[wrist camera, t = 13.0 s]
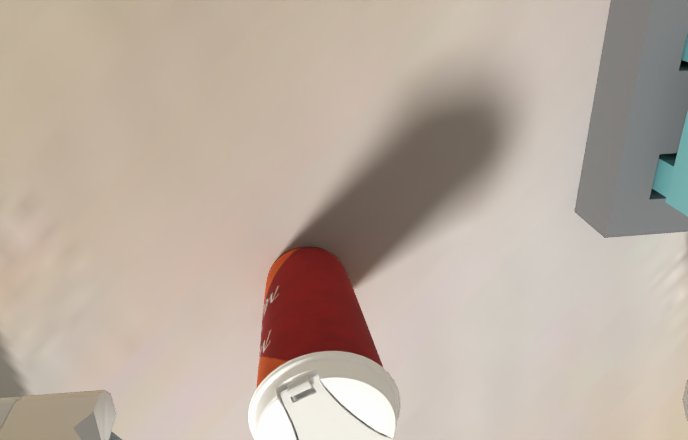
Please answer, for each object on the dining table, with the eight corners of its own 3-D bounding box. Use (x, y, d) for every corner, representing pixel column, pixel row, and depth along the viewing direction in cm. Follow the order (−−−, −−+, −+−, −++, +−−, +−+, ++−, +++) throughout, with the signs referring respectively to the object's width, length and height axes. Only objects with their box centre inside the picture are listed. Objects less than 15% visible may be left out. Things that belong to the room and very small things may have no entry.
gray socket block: (617, -37, 34) (658, -34, 31) (742, -39, 35) (796, -37, 32) (574, 211, 41) (604, 237, 38) (680, 204, 42) (719, 228, 39)
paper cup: (230, 263, 40) (217, 413, 27) (332, 213, 39) (367, 343, 26) (284, 344, 43) (295, 511, 31) (379, 300, 42) (429, 451, 30)
